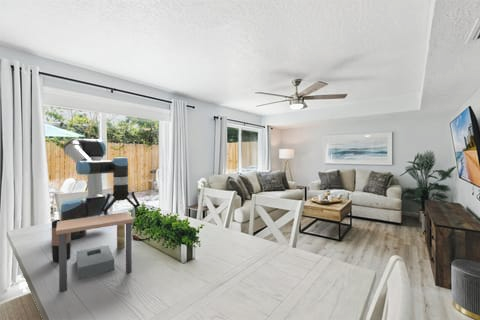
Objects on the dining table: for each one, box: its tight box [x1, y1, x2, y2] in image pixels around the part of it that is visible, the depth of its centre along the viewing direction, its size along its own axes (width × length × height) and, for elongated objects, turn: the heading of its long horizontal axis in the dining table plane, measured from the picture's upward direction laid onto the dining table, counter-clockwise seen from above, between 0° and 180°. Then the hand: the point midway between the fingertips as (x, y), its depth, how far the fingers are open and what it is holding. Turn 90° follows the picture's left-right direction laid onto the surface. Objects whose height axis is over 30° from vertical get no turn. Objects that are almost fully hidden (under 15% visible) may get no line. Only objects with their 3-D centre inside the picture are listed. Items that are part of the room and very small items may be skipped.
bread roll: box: [132, 234, 140, 241], centre depth 147 cm, size 11×11×5 cm
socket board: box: [75, 244, 115, 280], centre depth 110 cm, size 20×14×5 cm
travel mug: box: [51, 219, 72, 264], centre depth 115 cm, size 8×8×20 cm
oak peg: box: [116, 224, 126, 250], centre depth 130 cm, size 4×4×14 cm
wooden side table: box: [56, 211, 135, 293], centre depth 102 cm, size 15×28×25 cm, turn 128°
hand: (121, 220), depth 130 cm, fingers open, 13 cm apart
